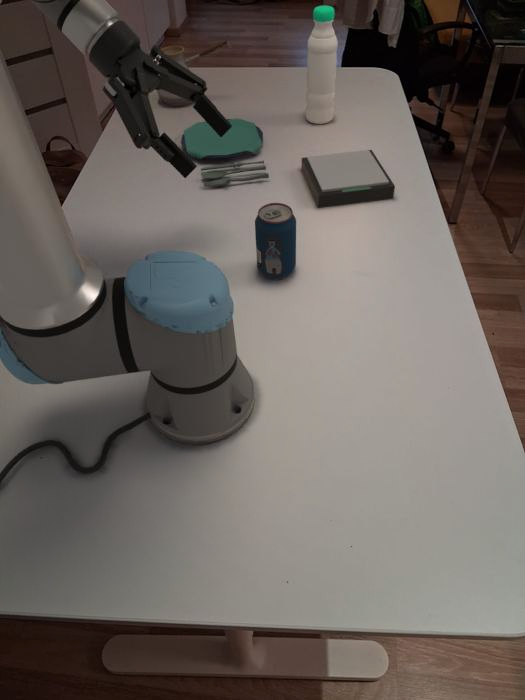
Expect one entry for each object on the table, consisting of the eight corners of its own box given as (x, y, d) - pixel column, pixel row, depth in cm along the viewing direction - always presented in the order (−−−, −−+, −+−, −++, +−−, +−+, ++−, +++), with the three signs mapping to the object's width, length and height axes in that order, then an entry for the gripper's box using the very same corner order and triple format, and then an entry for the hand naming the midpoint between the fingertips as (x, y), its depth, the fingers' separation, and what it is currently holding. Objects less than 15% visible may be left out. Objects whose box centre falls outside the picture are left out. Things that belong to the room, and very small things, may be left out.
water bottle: (300, 119, 138) (301, 8, 120) (319, 110, 141) (323, 0, 123) (319, 127, 135) (324, 14, 116) (339, 118, 138) (346, 7, 119)
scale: (317, 207, 110) (318, 193, 108) (301, 169, 121) (301, 155, 119) (393, 198, 112) (395, 183, 109) (370, 161, 122) (371, 147, 120)
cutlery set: (256, 122, 138) (256, 113, 136) (278, 181, 118) (278, 171, 116) (179, 131, 136) (178, 122, 135) (187, 192, 116) (186, 182, 114)
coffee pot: (155, 109, 146) (144, 48, 135) (163, 91, 154) (153, 33, 143) (232, 108, 144) (228, 47, 133) (237, 91, 152) (233, 32, 141)
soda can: (286, 254, 100) (285, 196, 91) (302, 275, 96) (303, 217, 87) (251, 264, 98) (247, 206, 90) (266, 286, 94) (264, 228, 85)
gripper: (134, 29, 88) (226, 130, 95) (42, 89, 72) (160, 205, 79) (157, -7, 83) (253, 103, 90) (63, 50, 67) (187, 177, 74)
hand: (209, 151), depth 85 cm, fingers open, 13 cm apart
